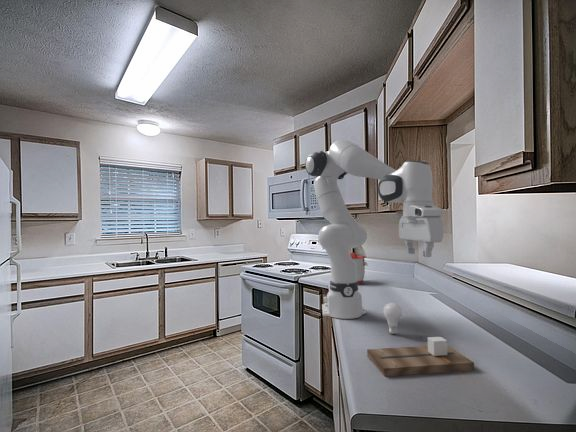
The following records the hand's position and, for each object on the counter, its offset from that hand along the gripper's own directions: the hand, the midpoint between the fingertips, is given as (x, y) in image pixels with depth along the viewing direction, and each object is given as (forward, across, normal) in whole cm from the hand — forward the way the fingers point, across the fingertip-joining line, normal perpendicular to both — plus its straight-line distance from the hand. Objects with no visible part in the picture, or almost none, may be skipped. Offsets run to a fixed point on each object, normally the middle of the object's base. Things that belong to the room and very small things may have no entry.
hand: (418, 255), depth 97 cm
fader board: (+29, +9, -6) cm, 31 cm away
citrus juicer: (+29, -102, +13) cm, 107 cm away
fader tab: (+27, +9, 0) cm, 28 cm away
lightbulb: (+29, -13, -3) cm, 32 cm away
